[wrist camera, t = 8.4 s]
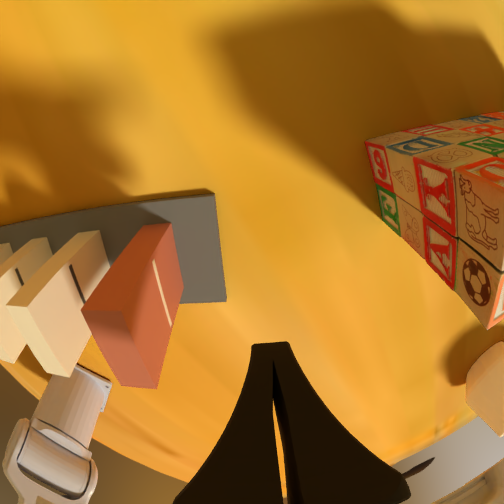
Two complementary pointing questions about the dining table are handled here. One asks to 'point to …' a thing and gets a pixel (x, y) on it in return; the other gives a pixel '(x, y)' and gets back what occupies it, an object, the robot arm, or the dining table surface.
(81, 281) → the ivory domino
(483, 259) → the stack of blocks
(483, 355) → the cup
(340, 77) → the dining table surface
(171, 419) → the dining table surface
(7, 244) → the ivory domino
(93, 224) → the domino mat
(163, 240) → the red domino
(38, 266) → the ivory domino
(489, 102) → the dining table surface
